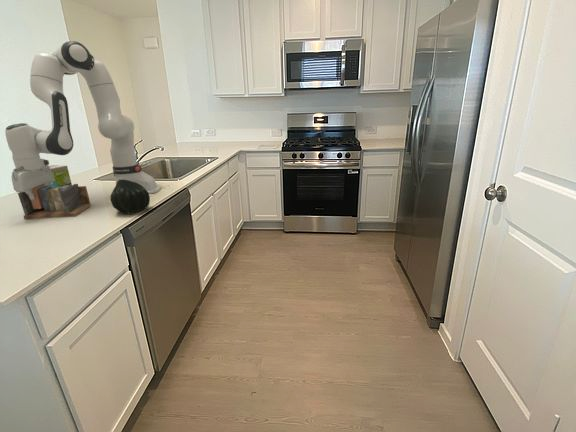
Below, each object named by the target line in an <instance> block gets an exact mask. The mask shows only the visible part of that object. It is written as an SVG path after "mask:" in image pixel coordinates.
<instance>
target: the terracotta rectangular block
mask: <svg viewBox="0 0 576 432" xmlns="http://www.w3.org/2000/svg"><path fill="white" fill-rule="evenodd" d="M42 187H44V185H40V186H38V187H35V188H33V189H32V190H33V191H32V193H33V194H35V195H36V199H33V200H31V199H30V200H31V203H32V206H33V209H42V208H44V207H43V203H42V200H41V197H40V194H39V190H38V189H39V188H42Z"/></svg>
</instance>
